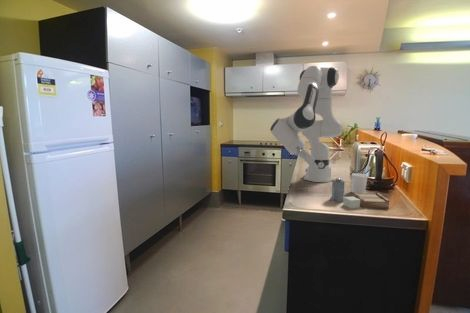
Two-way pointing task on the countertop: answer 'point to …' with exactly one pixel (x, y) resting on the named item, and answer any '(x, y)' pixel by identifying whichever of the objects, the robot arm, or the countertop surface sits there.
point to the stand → (372, 200)
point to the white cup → (358, 183)
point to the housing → (338, 190)
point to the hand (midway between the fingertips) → (315, 166)
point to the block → (351, 202)
